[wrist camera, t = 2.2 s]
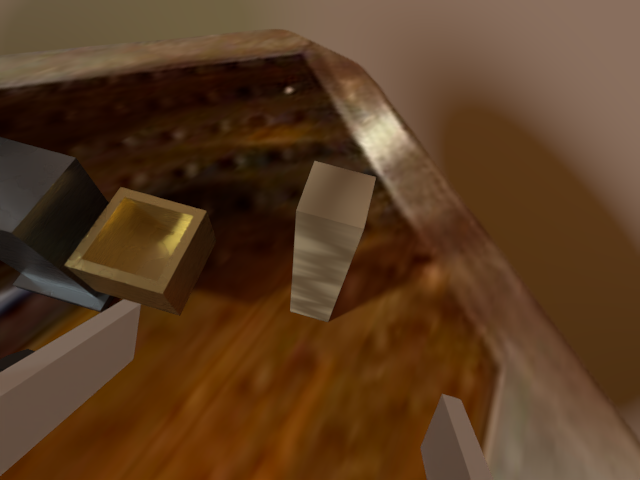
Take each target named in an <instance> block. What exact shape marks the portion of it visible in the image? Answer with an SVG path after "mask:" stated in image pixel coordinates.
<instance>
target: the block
mask: <svg viewBox="0 0 640 480" xmlns="http://www.w3.org/2000/svg"><path fill="white" fill-rule="evenodd" d="M375 179H376V177H373V176H369V175H366V174H362V173H358V172H354V171H351V170H347V169H343V168H339V167H335V166H332V165H328V164H324V163H320V162H317V161H314V164H313V167H312V169H311V172H310V175H309V178H308V180H307V183H306V186H305V188H304V191H303V194H302V197H301V199H300V202H299V205H298V207H297V210H296V225H295V241H294V258H293V274H292V290H291V307H290V311H292V312H295V313H298V314H302V315H305V316H309V317H312V318H316V319H319V320H323V321H326V322H328V321H329V318H330V316H331V313H332V310H333V308H334V305H335V303H336V300H337V297H338V295H339V292H340V290H341V287H342V284H343V282H344V279H345V277H346V274H347V271H348V269H349V266H350V264H351V261H352V258H353V256H354V253H355V251H356V248H357V245H358V243H359V240H360V238H361V235H362V232H363V230H364V226H365V222H366V218H367V213H368V209H369V205H370V201H371V196H372V192H373V188H374V184H375Z"/></svg>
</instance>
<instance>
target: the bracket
mask: <svg viewBox="0 0 640 480" xmlns="http://www.w3.org/2000/svg"><path fill="white" fill-rule="evenodd" d="M215 243H216V238H215V235H214V232H213V229H212V226H211V223H210V220H209V216H208V213H207V211H205V210H201V209H198V208H194V207H191V206H187V205H183V204H180V203H176V202H173V201H169V200H165V199H162V198H158V197H155V196H151V195H147V194H144V193H140V192H137V191H133V190H129V189H126V188H122V187H120V189H119V190H118V192H117V193H116V194H115V196H114V197H113V198H112V200H111V201H110V203H108V201H107V200H106V199H105V197H104V196H103V194H102V193H101V192H100V190H99V189H98V188H97V186H96V185H95V183H94V182H93V181H92V179H91V178H90V177H89V175H88V174H87V172H86V171H85V170H84V168H83V167H82V166H81V164H80V163H79V161H78V160H77V159H76V158H75V157H71V156H67V155H64V154H60V153H56V152H53V151H49V150H46V149H42V148H38V147H35V146H31V145H27V144H24V143H20V142H16V141H13V140H9V139H5V138H2V137H0V260H2V261H3V262H5V263H6V264H8V265H9V266H11V267H13V268H14V269H16V270H17V271H19V272H20V273H21V275H20V276H19V277H18V279H17V280H16V281H15V282H14V284H13V285H14V286H16V287H18V288H21V289H24V290H27V291H31V292H34V293H37V294H41V295H44V296H47V297H51V298H54V299H58V300H61V301H64V302H68V303H71V304H74V305H78V306H81V307H85V308H88V309H91V310H95V311H98V312H101V313H102V312H103V311H105V310H106V309H107V307H108V306H109V304H110V302H111V301H112V299H113V297H114V296H115V297H118V298H122V299H125V300H128V301H132V302H135V303H139V304H142V305H145V306H149V307H152V308H156V309H159V310H162V311H166V312H169V313H173V314H176V315H179V316H180V315H181V313H182V311H183V308H184V306H185V304H186V302H187V300H188V298H189V296H190V294H191V292H192V290H193V288H194V286H195V284H196V282H197V280H198V278H199V276H200V274H201V272H202V270H203V267H204V265H205V263H206V261H207V259H208V257H209V255H210V253H211V251H212V249H213V247H214V245H215Z"/></svg>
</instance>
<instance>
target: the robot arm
mask: <svg viewBox="0 0 640 480" xmlns="http://www.w3.org/2000/svg"><path fill="white" fill-rule="evenodd" d="M140 306H141V304H138V303H135V302H131V301H128V300H125V299H124V300H122V301H120V302H119V303H117V304H115V305H113V306H112V307H110V308H108V309H107V310H105V311H103V312H102V313H100V314H98V315H97V316H95V317H93V318H91V319H90V320H88V321H86V322H85V323H83V324H81V325H80V326H78V327H76V328H75V329H73V330H71V331H69V332H68V333H66V334H64V335H63V336H61V337H59V338H58V339H56V340H54V341H53V342H51V343H49V344H47V345H46V346H44V347H42V348H41V349H39V350H37V351H32V350H29V349H26V350H23V351H20V352H17V353H14V354H11V355H8V356H6V357H4V358H2V359H0V476H1V475H2V474H3V473H4V472H5V471H6V470H8V469H9V468H10V467H11V466H12V465H13V464H14V463H16V462H17V461H18V460H19V459H20V458H21V457H22V456H24V455H25V454H26V453H27V452H28V451H29V450H30V449H32V448H33V447H34V446H35V445H36V444H37V443H38V442H39V441H41V440H42V439H43V438H44V437H45V436H46V435H47V434H49V433H50V432H51V431H52V430H53V429H54V428H55V427H57V426H58V425H59V424H60V423H61V422H62V421H63V420H65V419H66V418H67V417H68V416H69V415H70V414H71V413H73V412H74V411H75V410H76V409H77V408H78V407H79V406H81V405H82V404H83V403H84V402H85V401H86V400H87V399H89V398H90V397H91V396H92V395H93V394H94V393H95V392H97V391H98V390H99V389H100V388H101V387H102V386H103V385H105V384H106V383H107V382H108V381H109V380H110V379H111V378H112V377H114V376H115V375H116V374H117V373H118V372H119V371H120V370H122V369H123V368H124V367H125V366H126V365H127V364H128V363H130V362H131V361H132V360H133V358H134V351H135V343H136V336H137V328H138V321H139V313H140ZM421 452H422V457H423V462H424V467H425V472H426V477H427V480H493V477H492V475H491V473H490V470H489V468H488V465H487V463H486V460H485V458H484V455H483V453H482V451H481V448H480V446H479V443H478V441H477V438H476V436H475V433H474V431H473V428H472V426H471V424H470V421H469V419H468V416H467V414H466V411H465V409H464V406H463V404H462V401H461V399H457V398H454V397H451V396H447V395H444V394H442V396H441V398H440V401H439V403H438V406H437V408H436V410H435V413H434V415H433V418H432V420H431V423H430V425H429V428H428V430H427V433H426V435H425V438H424V440H423V443H422V445H421Z"/></svg>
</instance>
